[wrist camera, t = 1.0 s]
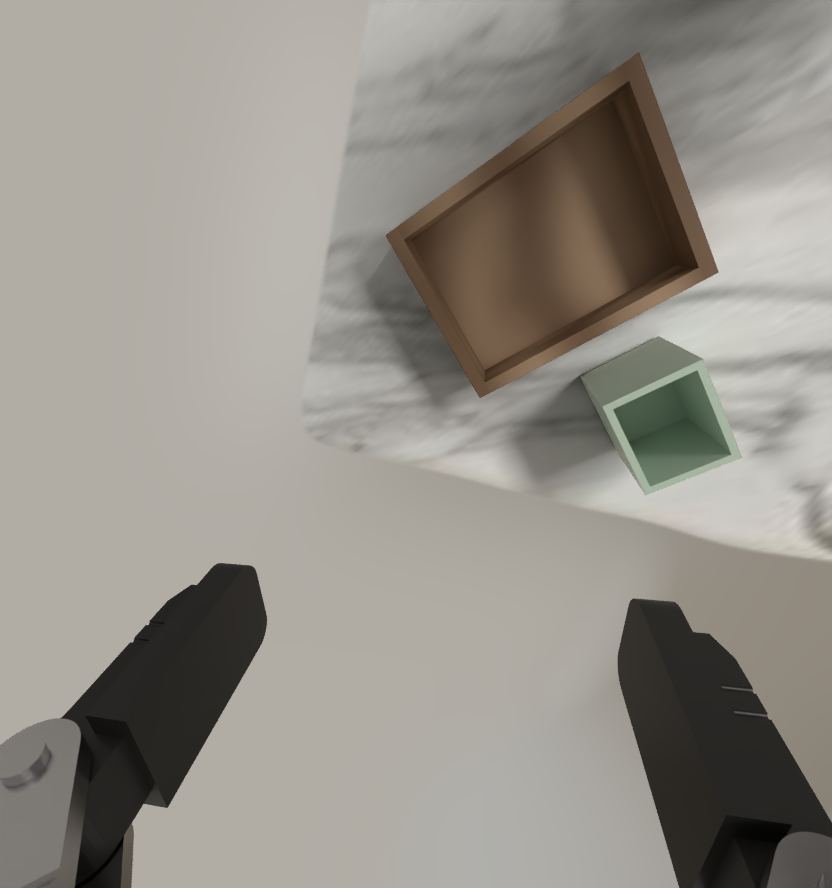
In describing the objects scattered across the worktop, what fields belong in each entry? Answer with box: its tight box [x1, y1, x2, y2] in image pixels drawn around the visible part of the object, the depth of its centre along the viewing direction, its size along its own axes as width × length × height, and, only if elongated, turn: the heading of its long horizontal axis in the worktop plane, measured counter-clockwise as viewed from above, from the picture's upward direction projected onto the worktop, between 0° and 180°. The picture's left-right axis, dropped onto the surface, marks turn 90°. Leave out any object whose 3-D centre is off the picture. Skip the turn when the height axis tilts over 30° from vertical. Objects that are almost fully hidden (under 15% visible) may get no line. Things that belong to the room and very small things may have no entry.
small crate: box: [580, 337, 742, 495], centre depth 25 cm, size 5×6×6 cm
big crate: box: [386, 53, 718, 398], centre depth 24 cm, size 13×10×4 cm
